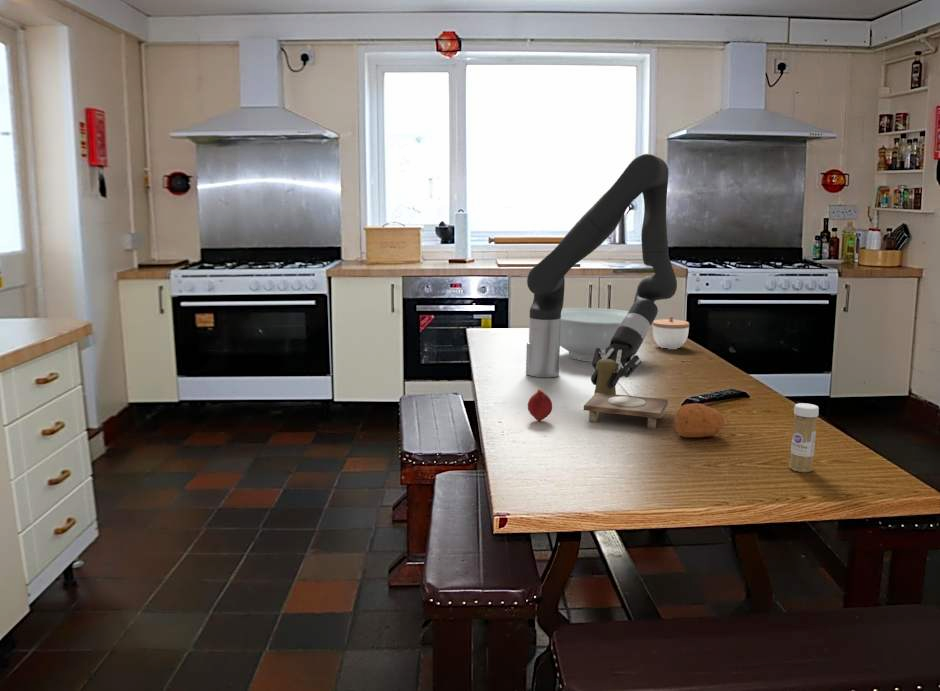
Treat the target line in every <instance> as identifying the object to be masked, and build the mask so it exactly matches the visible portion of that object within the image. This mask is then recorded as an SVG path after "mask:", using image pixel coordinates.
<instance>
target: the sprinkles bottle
mask: <svg viewBox="0 0 940 691" xmlns="http://www.w3.org/2000/svg"><path fill="white" fill-rule="evenodd" d="M819 409H820V408H819V406H818V405H816V404H812V403H807V402H806V403H804V402H801V403H800V402H798V403H796V404H794V408H793V413H794V415H793V416H794V419H793V430H792V438H791V444H790V445H791V446H790V447H791V448H790V461H789V465H788V466H789V467H788V468H789V469H791V470H792V471H794V472H797V471H798V473H810V472H812V471H813V470H814V468H813V465H814V463H813V462H814V455H815V444H816V436H817V420H818V417H819Z"/></svg>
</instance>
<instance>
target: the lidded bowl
mask: <svg viewBox="0 0 940 691" xmlns="http://www.w3.org/2000/svg"><path fill="white" fill-rule="evenodd" d="M689 330H690V322H689V321H686V320H682V319H675V318H674V316H672V315H671V316H669V318H666V319H665V318H662V319H654V321H653V323H652V335H653V336H652V337H653V340H654V342H655V343H656V345H657V346H659V348H660V347H661V348H660V349H663V348H668V349H667V350H678V349H677V348H680V349H681V347H682V346H683V345H684V344H685V343H686V341H687V339H688V336H689Z"/></svg>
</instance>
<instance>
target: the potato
mask: <svg viewBox="0 0 940 691" xmlns="http://www.w3.org/2000/svg"><path fill="white" fill-rule="evenodd" d="M673 420H674V429H675V430H676V432H677V433H678V434H679V435H680V436H681V437H683V438H689V439H692V438H693V439H694V438H696V439H697V438H705V437H711V436H715V435H718V434H719V433H720V432H721V431H722V430H723V428H724V426H725V425H724V424H725V419H724V416H723V414H722V413H721V412H720V411H719V410H718V409H716V408H714V407H710V406H707V405H705V404H702V403H700V402H699V403H697V402H695V403H686V404H683V405H681V407H680V408H679V409H678V411H677V412H676V414H675V417H674V419H673Z"/></svg>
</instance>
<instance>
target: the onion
mask: <svg viewBox="0 0 940 691" xmlns="http://www.w3.org/2000/svg"><path fill="white" fill-rule="evenodd" d="M527 409H528V412H529V414H530V415H531V416H532V417H533V418H534V419H535V420H536V422H541V421H543V420H545V419H546V418H547V417H549V415H550V414H551V413H552V410H553V403H552V400H551V398H550V397H549V395H547V394H546V393H545V392H544V391H543V390H542V388H538V389H537V392H535V393H534V394H533V395H532V396H531V397H530V398H529V399H528V403H527Z"/></svg>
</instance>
